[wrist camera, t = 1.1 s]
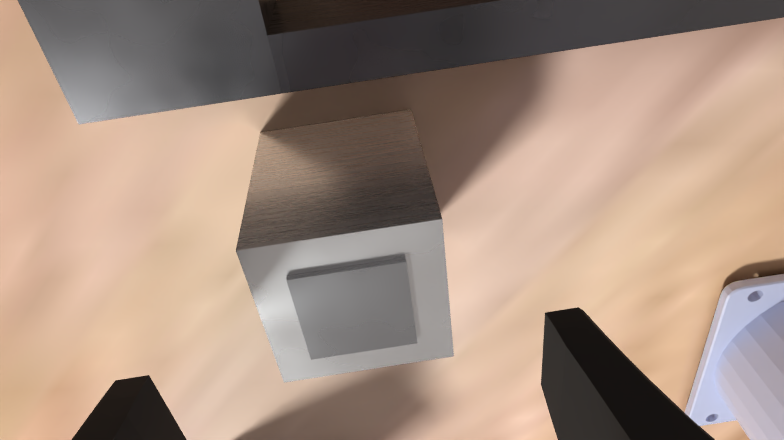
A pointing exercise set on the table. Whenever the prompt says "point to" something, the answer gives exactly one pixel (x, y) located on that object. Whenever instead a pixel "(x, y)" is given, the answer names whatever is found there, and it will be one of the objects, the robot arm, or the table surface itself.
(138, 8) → the dark grey flat block
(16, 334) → the table surface
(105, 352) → the table surface
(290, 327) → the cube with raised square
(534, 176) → the table surface
